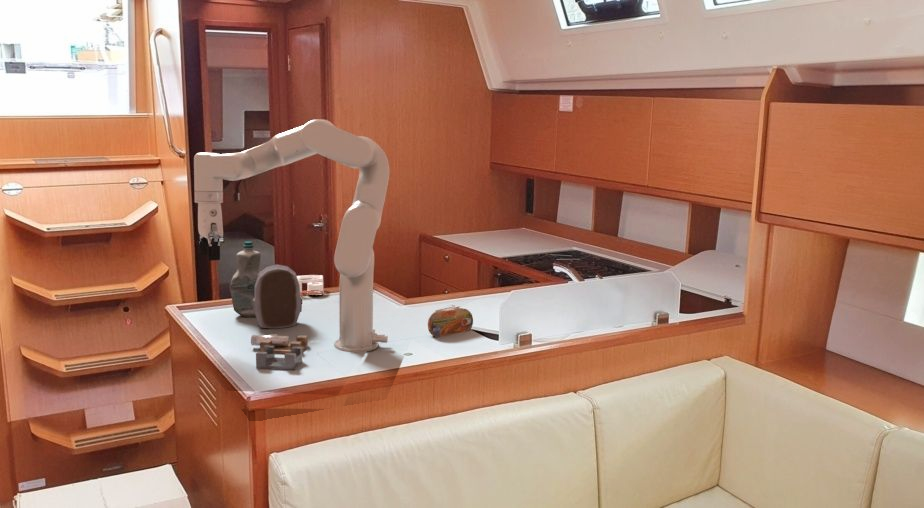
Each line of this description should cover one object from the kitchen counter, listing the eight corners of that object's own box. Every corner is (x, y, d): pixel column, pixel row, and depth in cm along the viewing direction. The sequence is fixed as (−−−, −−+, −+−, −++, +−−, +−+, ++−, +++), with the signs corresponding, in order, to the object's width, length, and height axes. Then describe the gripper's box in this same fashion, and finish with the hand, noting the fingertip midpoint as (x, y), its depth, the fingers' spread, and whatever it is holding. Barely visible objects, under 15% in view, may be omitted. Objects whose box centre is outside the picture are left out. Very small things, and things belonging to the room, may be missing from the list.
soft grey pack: (253, 332, 230) (252, 267, 227) (252, 325, 238) (250, 262, 235) (304, 328, 235) (303, 265, 232) (300, 322, 243) (300, 260, 239)
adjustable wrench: (441, 316, 243) (441, 310, 243) (423, 314, 246) (423, 309, 246) (473, 309, 266) (473, 304, 266) (457, 308, 268) (457, 303, 268)
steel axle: (289, 345, 214) (289, 334, 214) (286, 348, 211) (285, 337, 211) (254, 343, 215) (254, 333, 214) (251, 346, 212) (250, 336, 212)
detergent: (270, 313, 253) (269, 239, 249) (273, 318, 247) (272, 242, 243) (229, 316, 248) (227, 240, 244) (231, 321, 242) (229, 243, 238)
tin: (431, 340, 226) (431, 313, 224) (426, 338, 228) (426, 310, 227) (473, 334, 234) (474, 307, 232) (467, 331, 236) (468, 305, 235)
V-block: (302, 361, 202) (302, 347, 202) (294, 370, 195) (294, 355, 195) (265, 359, 203) (265, 345, 202) (256, 368, 196) (255, 353, 195)
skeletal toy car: (274, 303, 267) (274, 283, 266) (267, 297, 277) (267, 277, 276) (329, 299, 276) (329, 279, 274) (321, 293, 285) (321, 274, 284)
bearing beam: (307, 345, 217) (307, 335, 216) (299, 354, 209) (299, 343, 208) (269, 344, 218) (269, 334, 217) (260, 352, 209) (259, 342, 209)
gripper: (230, 200, 207) (231, 261, 210) (214, 194, 221) (215, 251, 224) (202, 200, 203) (203, 263, 206) (188, 194, 218) (189, 253, 220)
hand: (209, 257), depth 215 cm, fingers open, 9 cm apart
